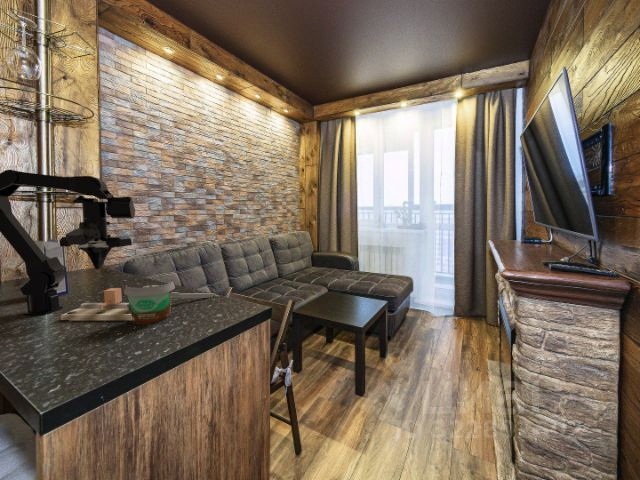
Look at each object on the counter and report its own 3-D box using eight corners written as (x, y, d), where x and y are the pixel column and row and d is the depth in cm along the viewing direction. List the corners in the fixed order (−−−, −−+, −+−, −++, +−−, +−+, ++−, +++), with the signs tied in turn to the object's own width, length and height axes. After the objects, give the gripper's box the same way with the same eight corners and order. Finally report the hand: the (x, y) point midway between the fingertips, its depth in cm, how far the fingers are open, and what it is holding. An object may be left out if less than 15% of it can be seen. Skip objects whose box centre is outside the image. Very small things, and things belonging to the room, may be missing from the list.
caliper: (155, 310, 91) (154, 290, 91) (154, 309, 92) (153, 289, 92) (217, 296, 106) (217, 279, 106) (216, 296, 107) (215, 278, 106)
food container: (123, 329, 76) (120, 290, 75) (125, 321, 82) (123, 285, 81) (176, 321, 82) (175, 285, 81) (176, 314, 87) (174, 280, 86)
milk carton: (33, 296, 105) (28, 239, 103) (55, 291, 111) (50, 238, 109) (47, 298, 103) (42, 240, 101) (68, 293, 109) (64, 238, 107)
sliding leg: (95, 311, 84) (93, 294, 83) (112, 303, 91) (111, 288, 90) (105, 311, 84) (104, 294, 83) (122, 303, 91) (121, 288, 90)
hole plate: (61, 320, 82) (59, 297, 82) (91, 307, 93) (89, 287, 93) (131, 320, 82) (130, 297, 82) (153, 307, 93) (151, 287, 93)
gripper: (39, 219, 84) (44, 274, 85) (104, 219, 83) (108, 275, 85) (74, 218, 95) (77, 266, 96) (131, 218, 94) (134, 267, 96)
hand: (98, 269), depth 93 cm, fingers closed
